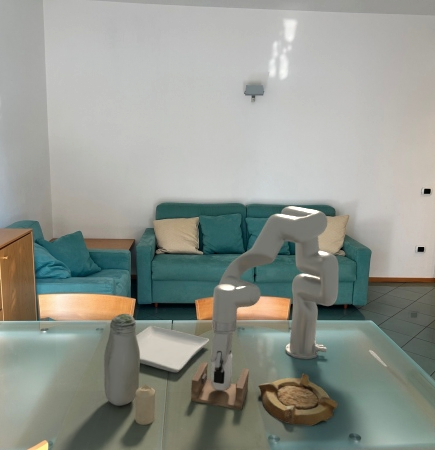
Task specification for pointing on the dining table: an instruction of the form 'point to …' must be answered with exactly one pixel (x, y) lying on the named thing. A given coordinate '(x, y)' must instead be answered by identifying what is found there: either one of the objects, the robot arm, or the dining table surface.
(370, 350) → the butter knife
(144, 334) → the square plate
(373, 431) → the dining table surface
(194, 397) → the holder
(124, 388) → the gray bottle
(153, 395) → the candle
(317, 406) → the ashtray
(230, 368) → the can
